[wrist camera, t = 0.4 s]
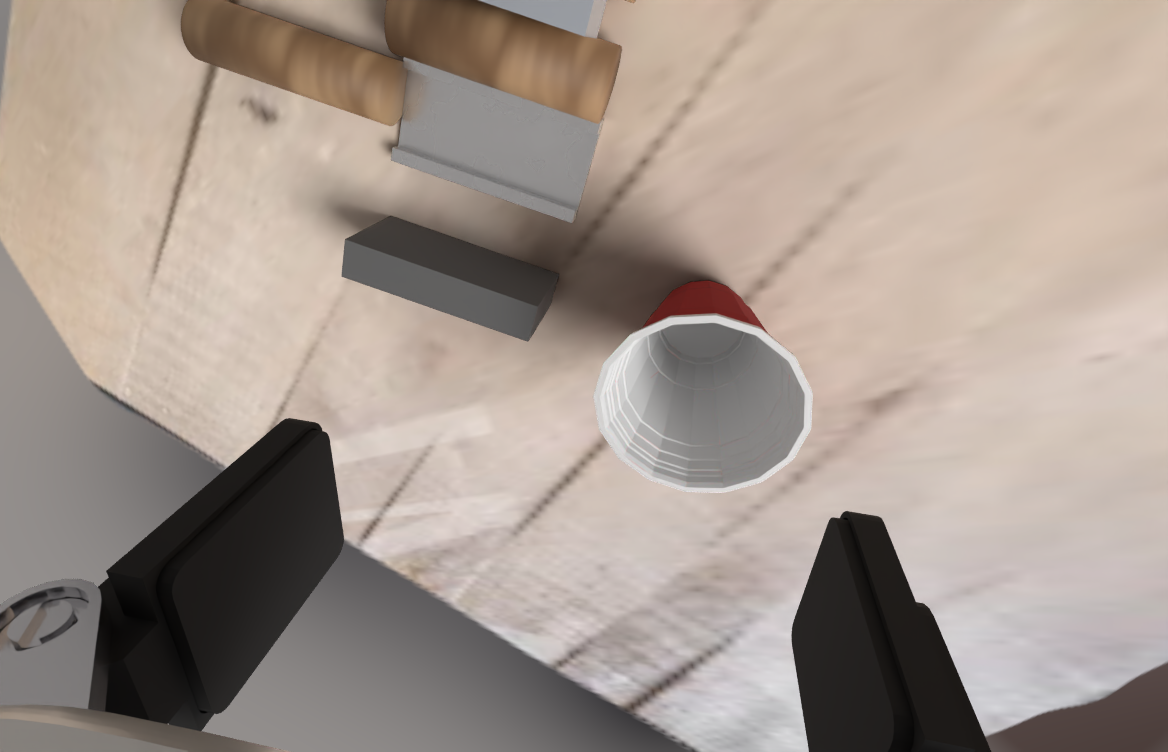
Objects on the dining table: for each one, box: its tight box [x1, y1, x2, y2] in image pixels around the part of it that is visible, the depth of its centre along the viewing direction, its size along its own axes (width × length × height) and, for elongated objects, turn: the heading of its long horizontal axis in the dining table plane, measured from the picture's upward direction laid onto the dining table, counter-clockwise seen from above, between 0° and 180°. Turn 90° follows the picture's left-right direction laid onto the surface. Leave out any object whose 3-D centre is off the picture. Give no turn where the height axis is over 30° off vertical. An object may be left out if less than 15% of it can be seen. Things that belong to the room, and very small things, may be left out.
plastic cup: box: [593, 280, 813, 493], centre depth 35 cm, size 11×11×12 cm
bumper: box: [342, 216, 559, 341], centre depth 38 cm, size 2×12×6 cm, turn 73°
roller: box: [181, 0, 408, 126], centre depth 35 cm, size 4×12×4 cm, turn 73°
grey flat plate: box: [391, 57, 604, 223], centre depth 37 cm, size 6×12×1 cm, turn 73°
